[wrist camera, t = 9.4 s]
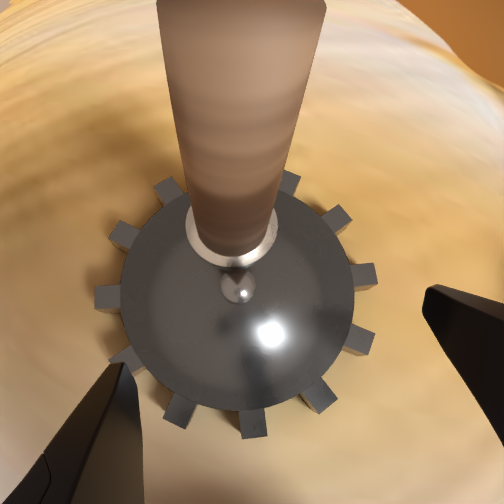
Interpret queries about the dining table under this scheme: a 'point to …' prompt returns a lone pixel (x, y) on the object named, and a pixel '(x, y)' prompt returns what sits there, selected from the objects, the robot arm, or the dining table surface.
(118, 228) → the sprocket plate
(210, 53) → the brown cylinder
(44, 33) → the dining table surface
